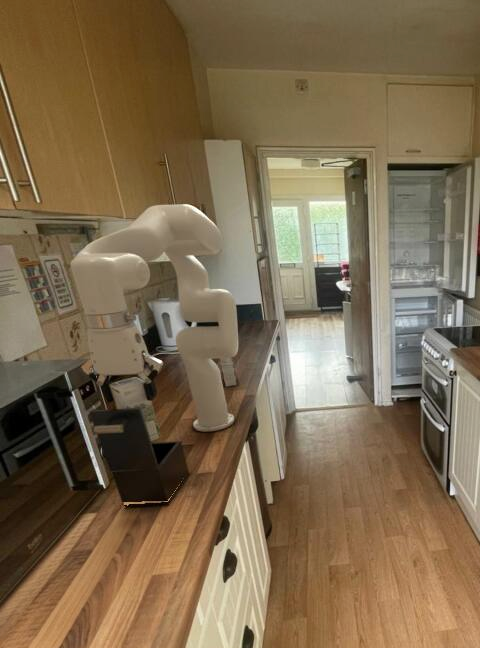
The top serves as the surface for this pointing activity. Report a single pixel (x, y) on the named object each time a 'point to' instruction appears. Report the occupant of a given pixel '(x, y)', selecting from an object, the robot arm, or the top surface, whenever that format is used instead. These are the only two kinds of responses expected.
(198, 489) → the top surface
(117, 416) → the bin lid
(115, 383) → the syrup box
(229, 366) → the candy bar box
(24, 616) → the top surface
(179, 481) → the bin
